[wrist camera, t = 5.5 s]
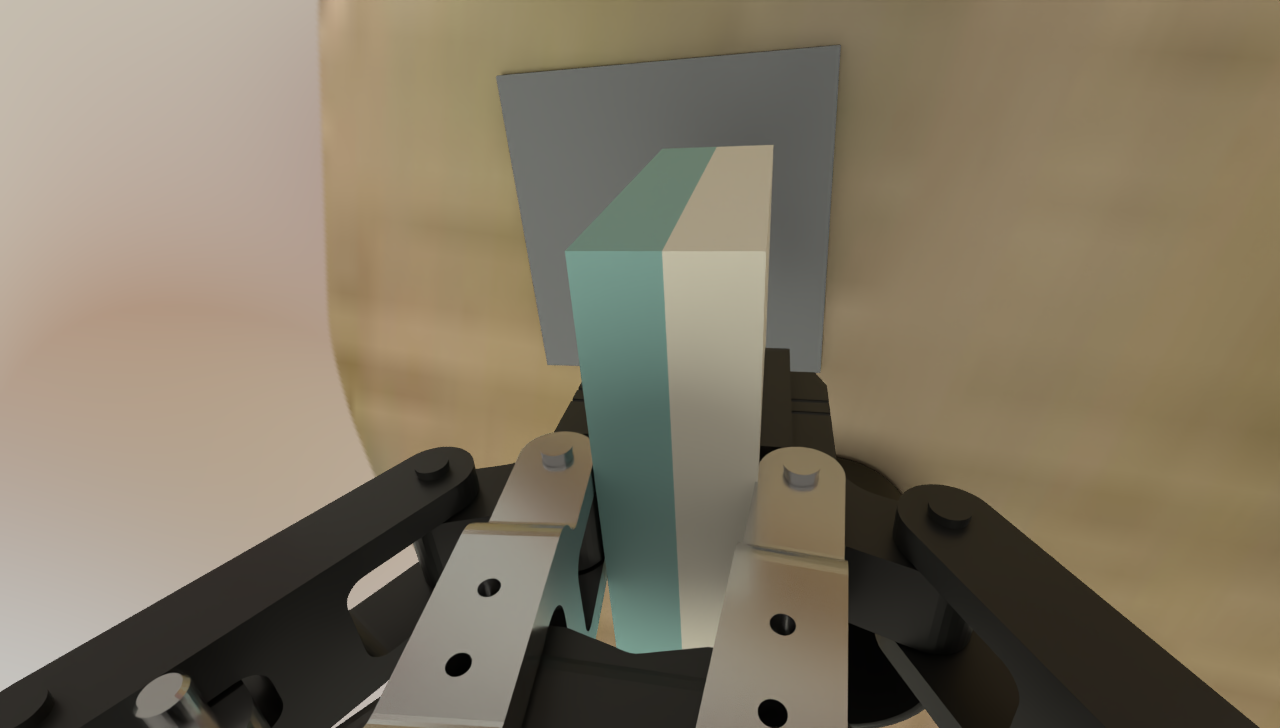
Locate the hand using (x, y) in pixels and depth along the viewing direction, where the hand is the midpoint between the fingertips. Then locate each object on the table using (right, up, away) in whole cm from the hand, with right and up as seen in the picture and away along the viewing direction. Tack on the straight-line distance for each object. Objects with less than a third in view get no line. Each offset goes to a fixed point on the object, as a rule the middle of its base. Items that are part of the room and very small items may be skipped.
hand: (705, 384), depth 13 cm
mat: (0, +7, +15) cm, 16 cm away
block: (+1, +1, +2) cm, 2 cm away
